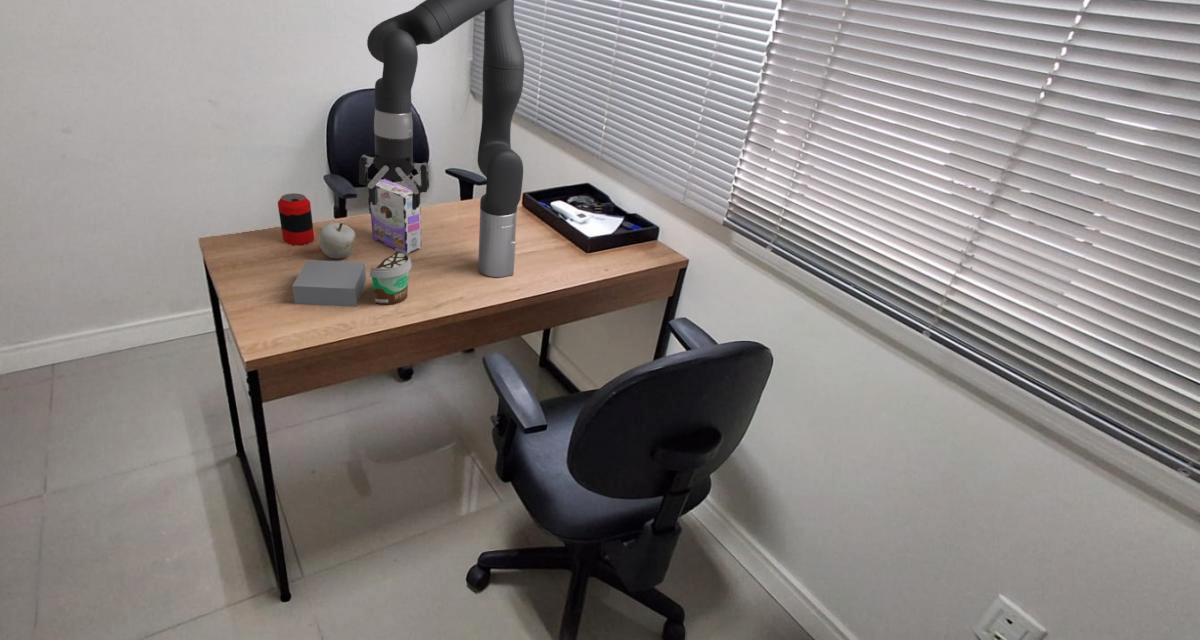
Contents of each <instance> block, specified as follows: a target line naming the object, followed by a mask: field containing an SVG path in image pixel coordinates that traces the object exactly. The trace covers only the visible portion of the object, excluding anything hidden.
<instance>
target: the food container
mask: <svg viewBox="0 0 1200 640" xmlns="http://www.w3.org/2000/svg"><path fill="white" fill-rule="evenodd" d="M412 267H413V265H412V260H411V258H410V256H409V253H406V252H405V251H403V250H400V249H397V248H395V249H394V252H393V254H391V255H390V256H388V257H386V258H384V259H383V260H382V261H381V262H380V263H379V265H377V266H376V267H370V270H369V277H370V278H371V283H372V288H373V296H374V304H375V305H376V306H377V305H378V306H394V305H397V304H401V303H402V302H404V301H406V299H407V298H408V292H409V290H408V288H409V271H410V270H412Z"/></svg>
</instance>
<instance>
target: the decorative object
mask: <svg viewBox="0 0 1200 640" xmlns="http://www.w3.org/2000/svg"><path fill="white" fill-rule="evenodd" d="M356 236H357V234H356V231H354V230H353V228H351V227H350V226H348V225H347V224H344V222H342V221H340V222H330V223H327V224H324V225H323V227H322V228H321V229H320V232H319V236H318V237H319V238H318V243H319V247H320V249H321V250H322V252H323V253H324V255H326V256H328V257H329V258H331V259H334V260H335V259H337V260H338V259H344V258H346V257H348V256H349V255H350V254H351V253H352V252H354V247H355V240H356Z"/></svg>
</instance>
